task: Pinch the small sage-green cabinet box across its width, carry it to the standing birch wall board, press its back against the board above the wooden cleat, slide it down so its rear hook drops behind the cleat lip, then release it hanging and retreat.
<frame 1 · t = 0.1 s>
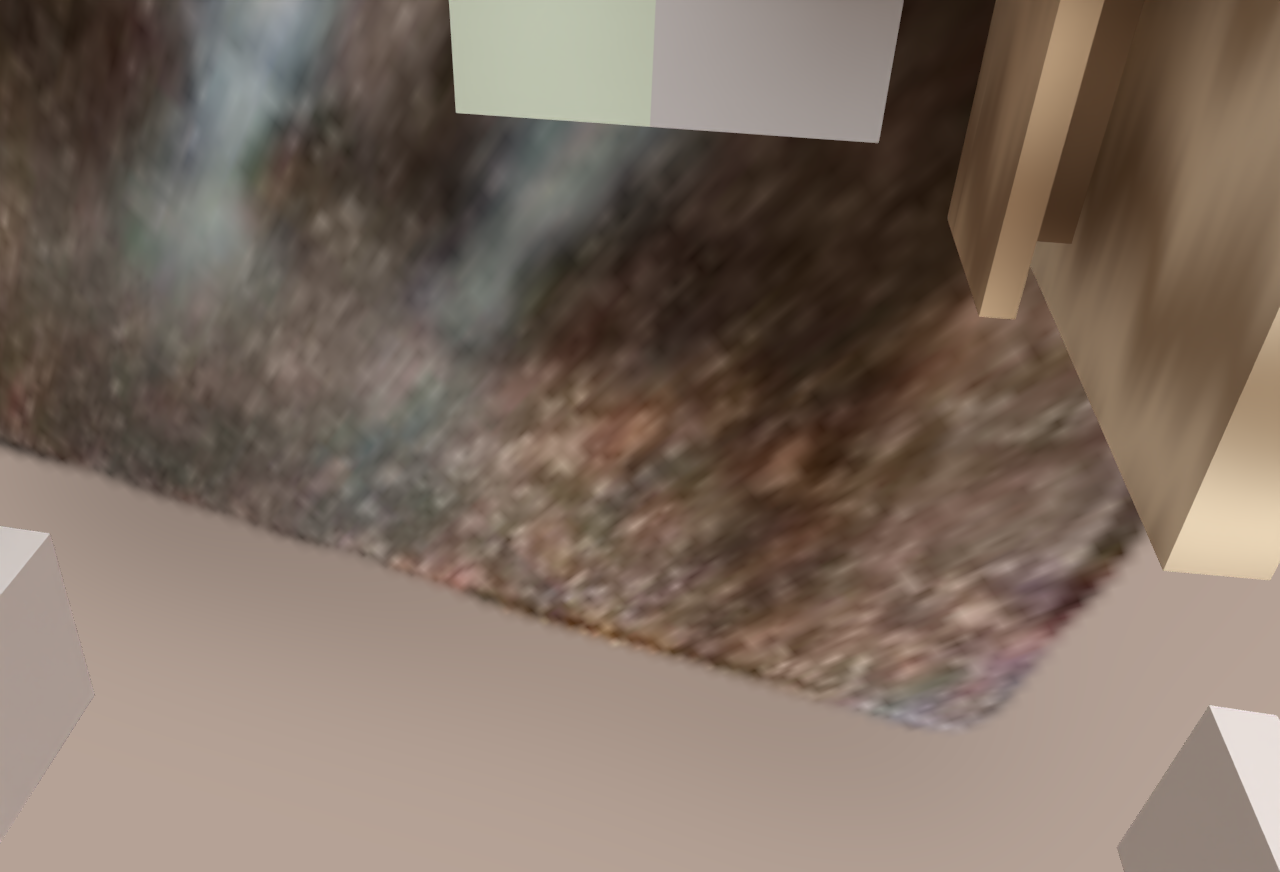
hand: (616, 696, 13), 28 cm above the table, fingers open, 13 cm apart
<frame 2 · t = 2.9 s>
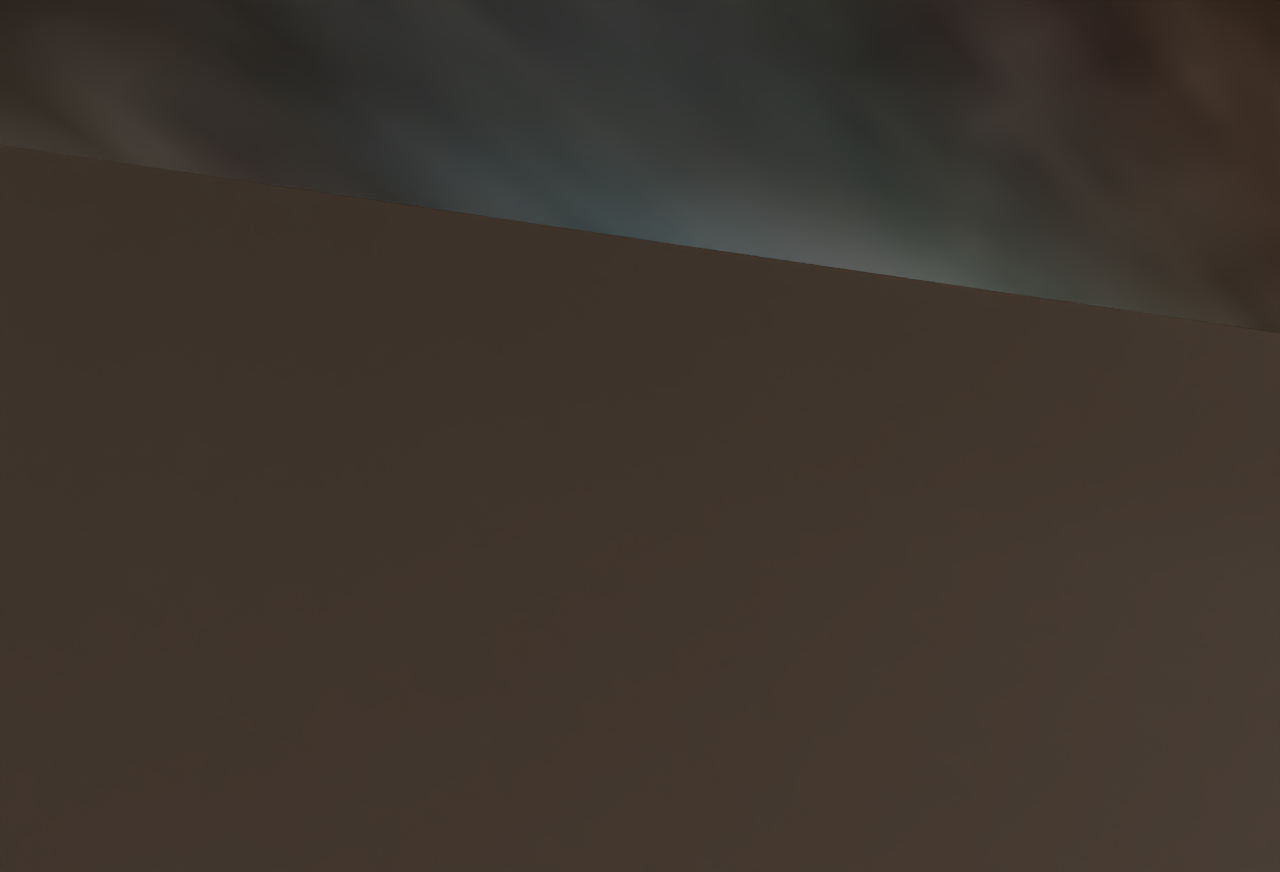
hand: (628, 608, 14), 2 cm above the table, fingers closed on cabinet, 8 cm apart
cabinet: (644, 495, 16), on the table, touching gripper
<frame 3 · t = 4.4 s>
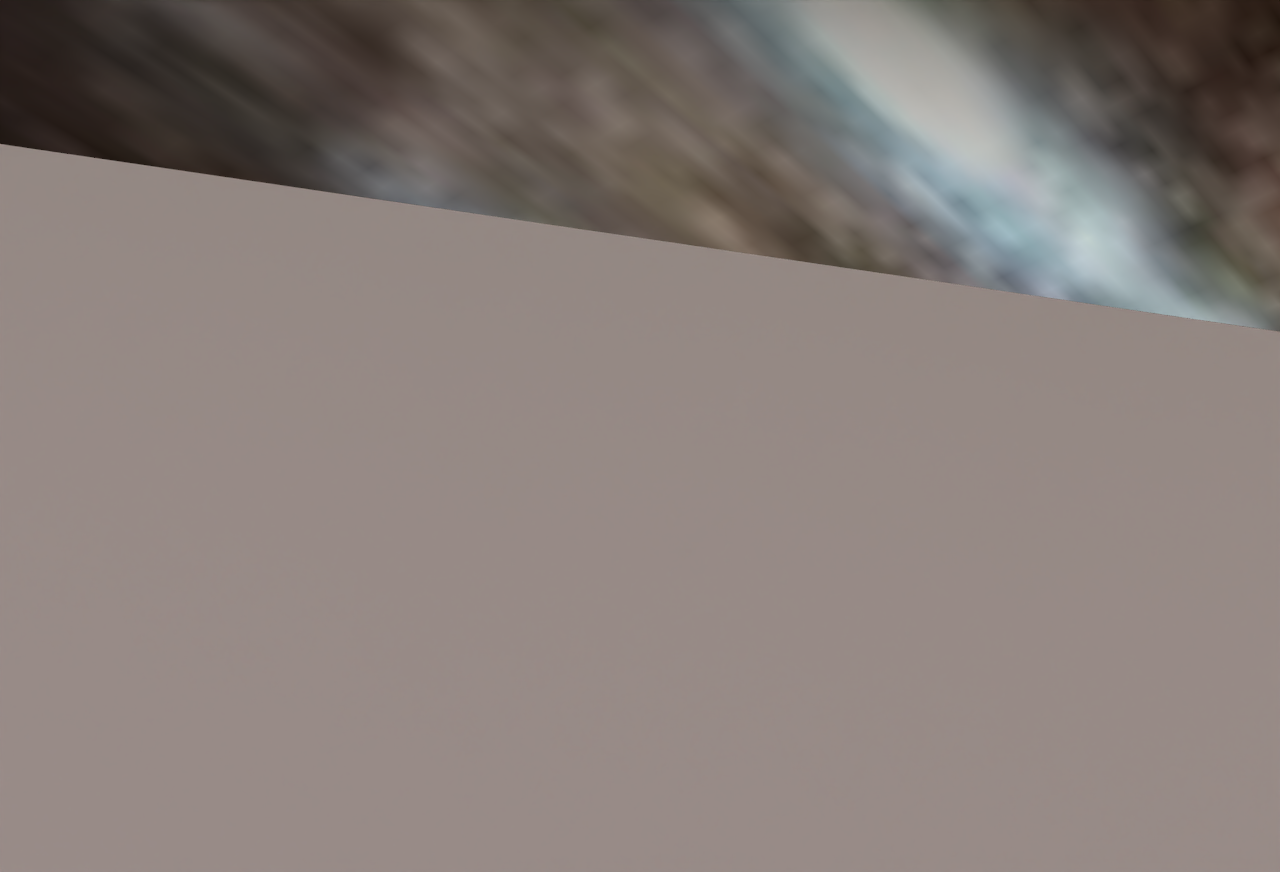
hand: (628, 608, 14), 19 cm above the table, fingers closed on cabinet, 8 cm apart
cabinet: (644, 495, 16), point 17 cm above the table, touching gripper
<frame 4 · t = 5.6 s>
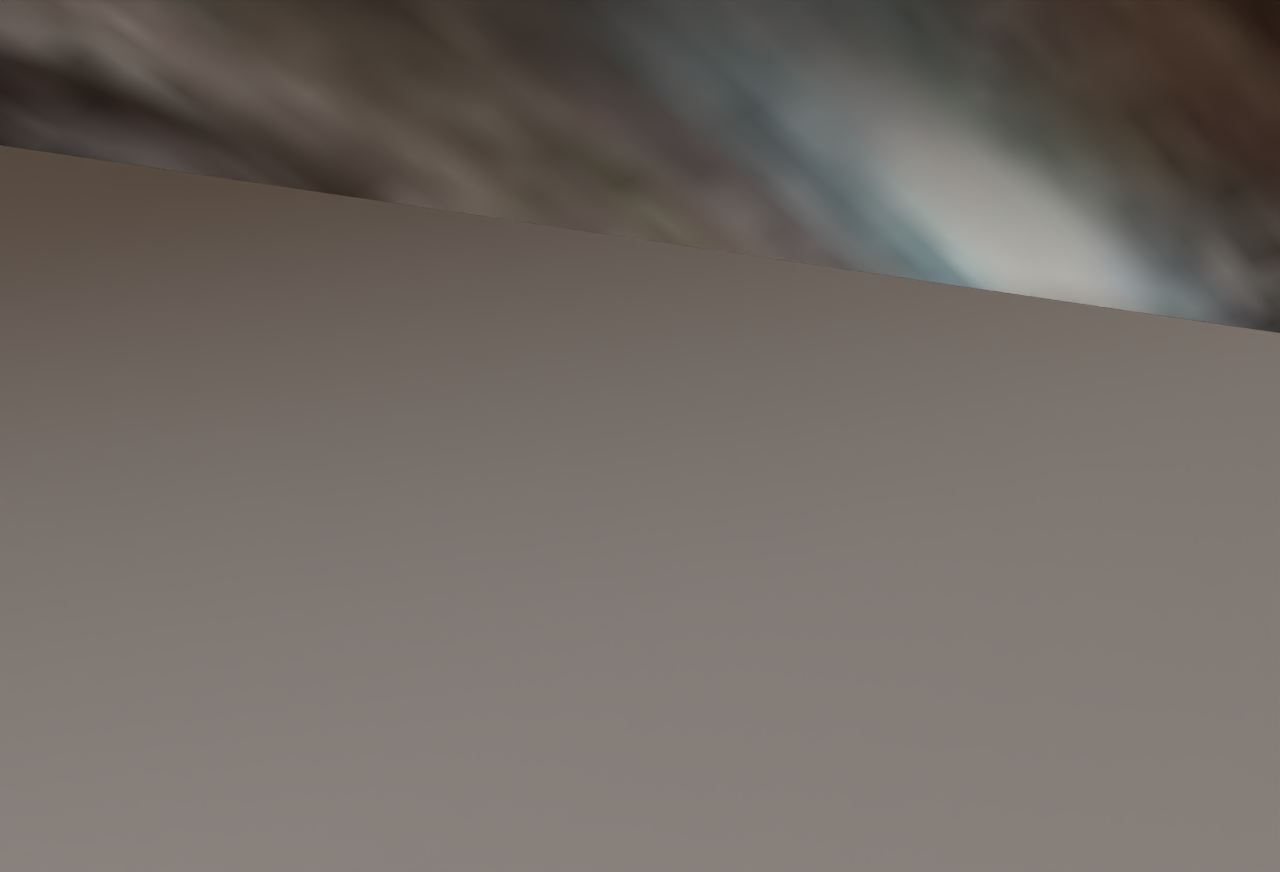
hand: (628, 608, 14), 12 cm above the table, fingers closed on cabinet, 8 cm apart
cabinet: (644, 495, 16), point 9 cm above the table, touching gripper
when the fingers open (6 cm above the table, at t = 8.7 s): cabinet stays where it is, resting on wall board.
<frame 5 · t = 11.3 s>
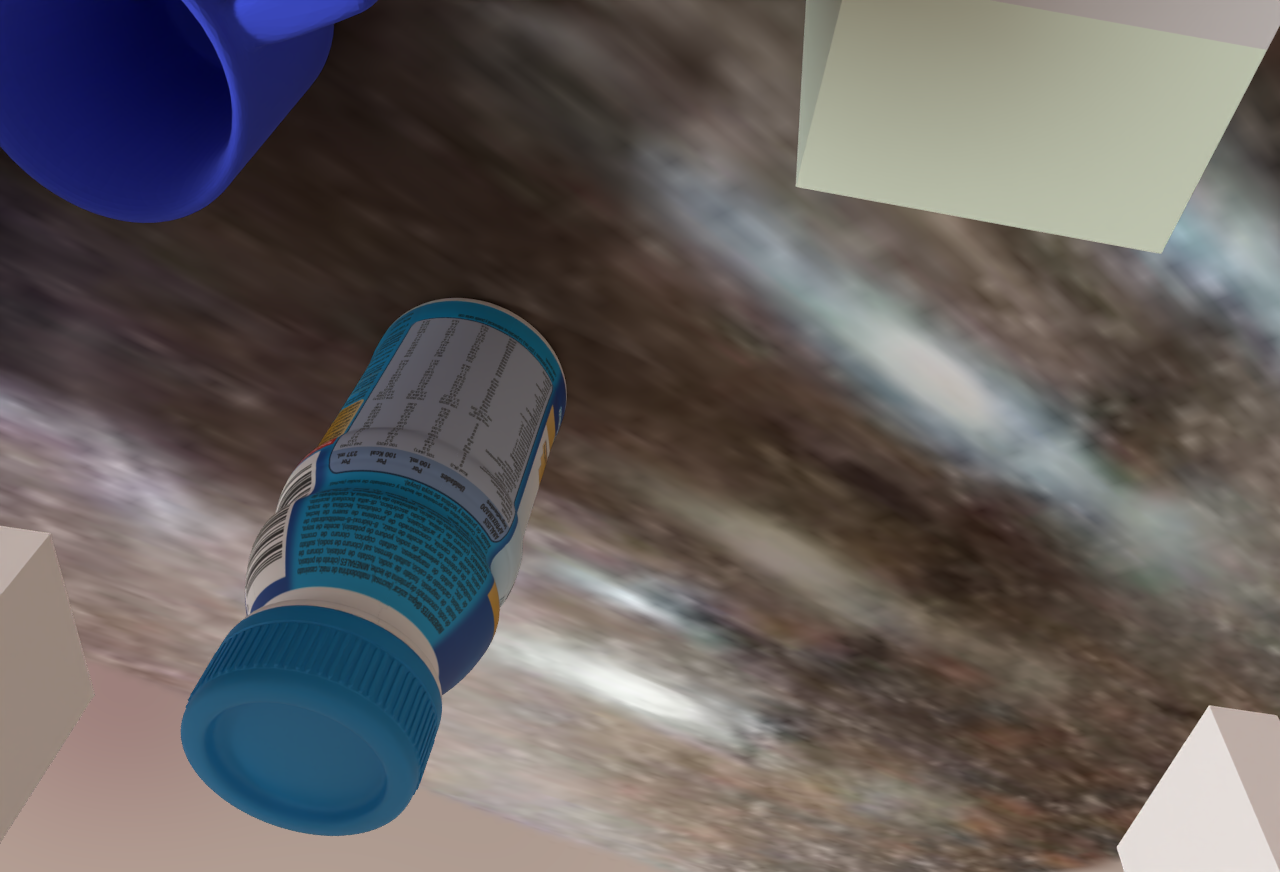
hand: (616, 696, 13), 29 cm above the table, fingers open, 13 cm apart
beverage bottle: (475, 375, 46), on the table
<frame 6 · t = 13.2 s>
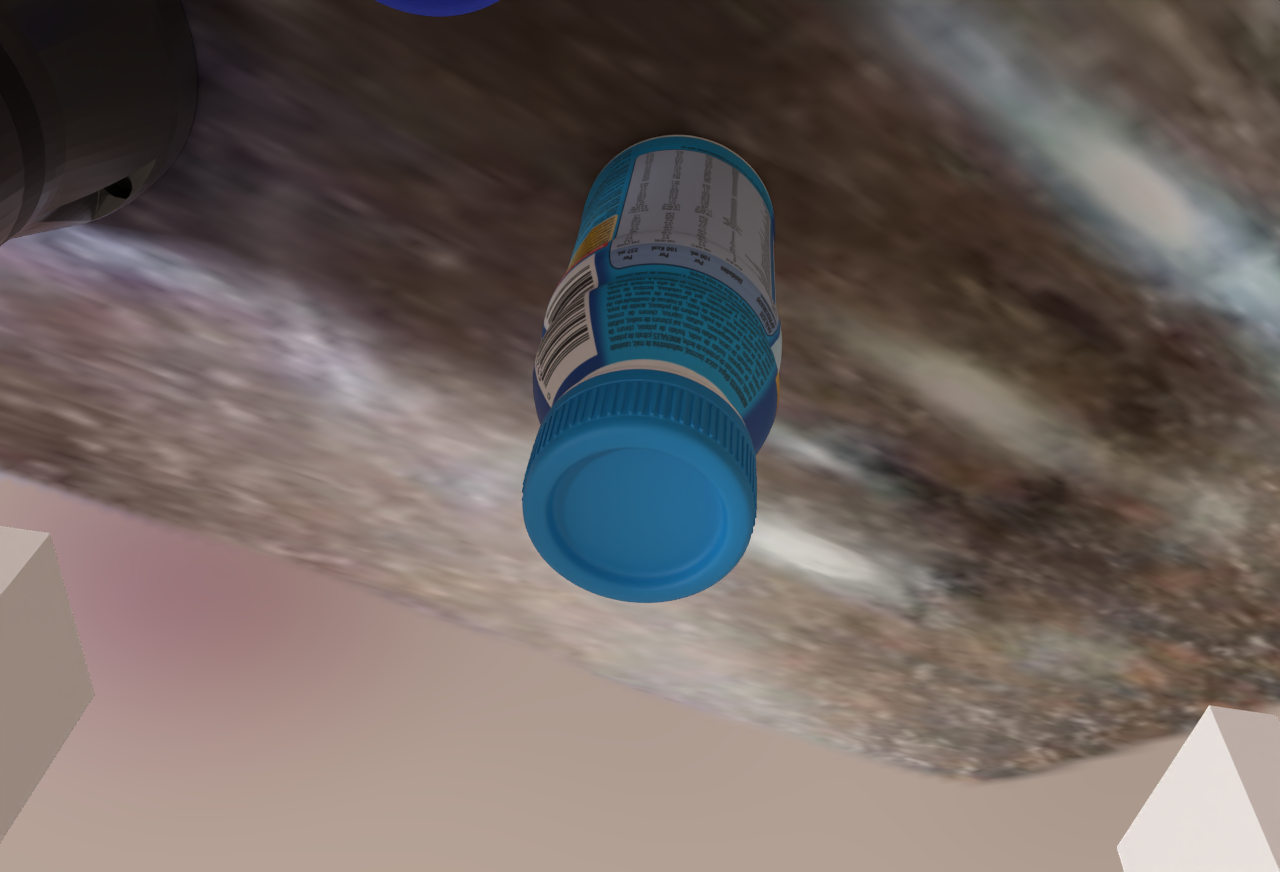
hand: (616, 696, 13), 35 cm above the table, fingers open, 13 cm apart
beverage bottle: (679, 219, 47), on the table
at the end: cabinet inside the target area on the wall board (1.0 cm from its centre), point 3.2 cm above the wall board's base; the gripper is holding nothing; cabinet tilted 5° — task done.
